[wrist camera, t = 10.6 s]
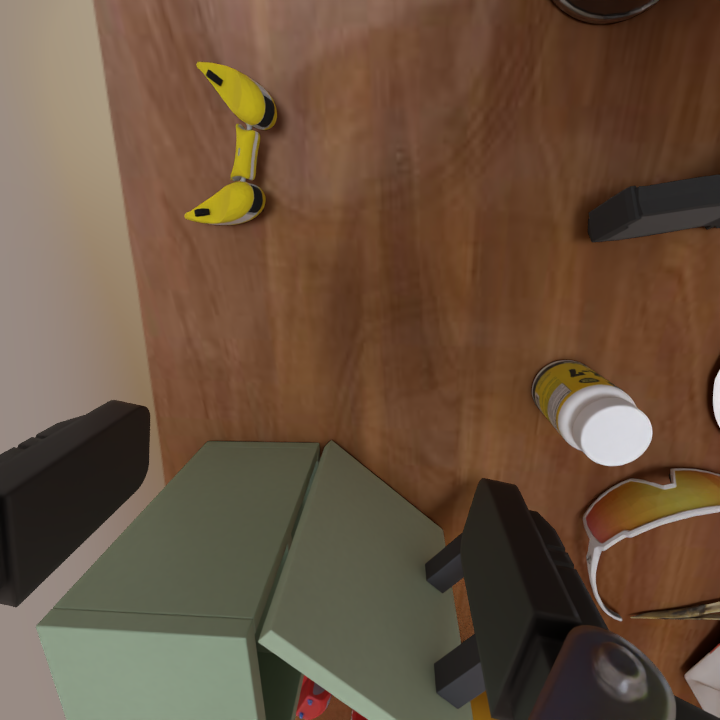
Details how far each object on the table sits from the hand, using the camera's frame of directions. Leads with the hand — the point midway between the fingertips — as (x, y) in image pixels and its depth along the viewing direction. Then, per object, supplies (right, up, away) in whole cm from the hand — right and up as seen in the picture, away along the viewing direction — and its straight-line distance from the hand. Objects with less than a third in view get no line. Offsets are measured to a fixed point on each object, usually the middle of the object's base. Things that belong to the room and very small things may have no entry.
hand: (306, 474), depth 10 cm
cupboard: (-7, -11, +28) cm, 30 cm away
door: (+5, -6, +25) cm, 26 cm away
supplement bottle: (+17, +1, +22) cm, 28 cm away
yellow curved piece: (-7, +17, +19) cm, 27 cm away
